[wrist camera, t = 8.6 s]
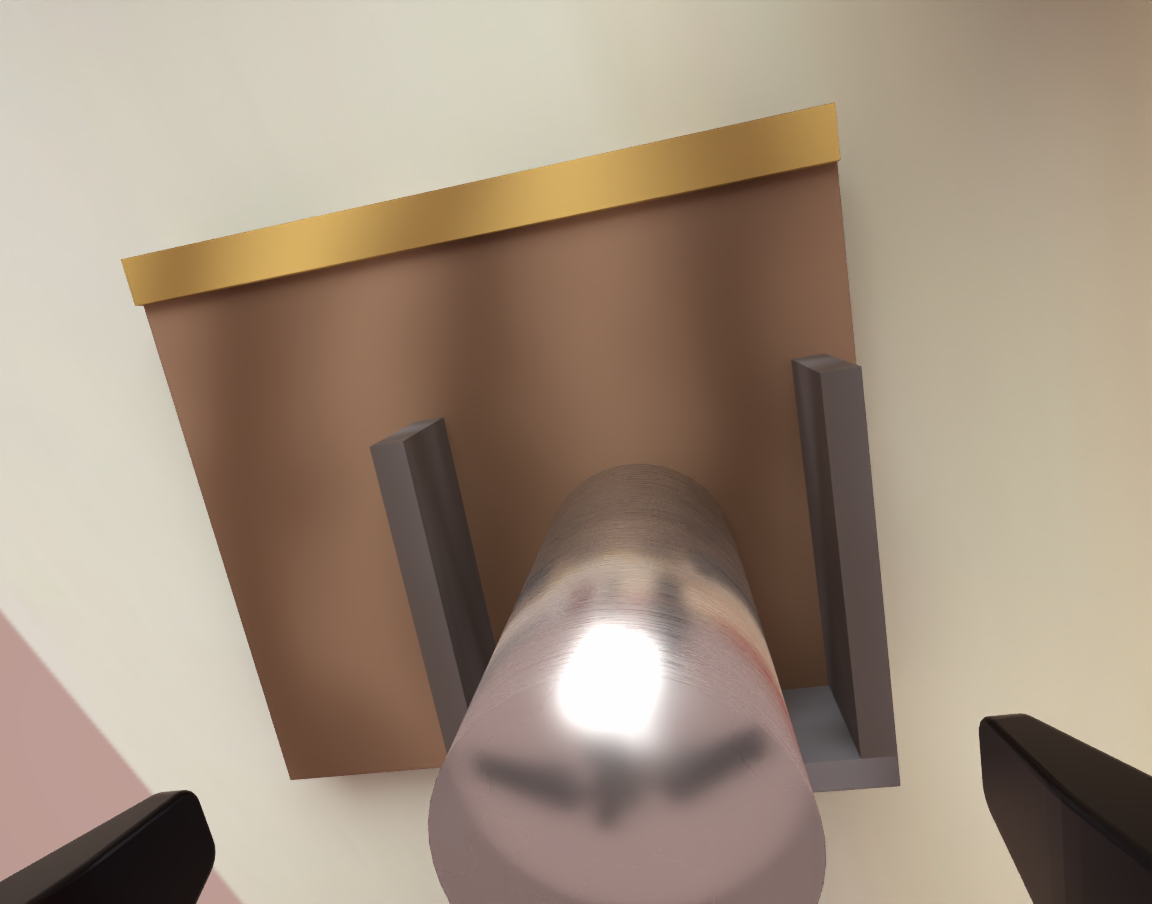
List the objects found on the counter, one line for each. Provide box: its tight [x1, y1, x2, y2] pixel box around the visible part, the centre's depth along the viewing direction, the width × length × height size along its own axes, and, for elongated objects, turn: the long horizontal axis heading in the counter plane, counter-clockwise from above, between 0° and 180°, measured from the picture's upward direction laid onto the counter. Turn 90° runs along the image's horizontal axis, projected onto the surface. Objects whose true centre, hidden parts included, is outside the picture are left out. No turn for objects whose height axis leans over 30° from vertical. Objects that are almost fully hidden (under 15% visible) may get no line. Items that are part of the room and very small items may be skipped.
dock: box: [121, 103, 900, 792], centre depth 18 cm, size 18×16×5 cm
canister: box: [428, 464, 826, 904], centre depth 13 cm, size 5×5×10 cm
